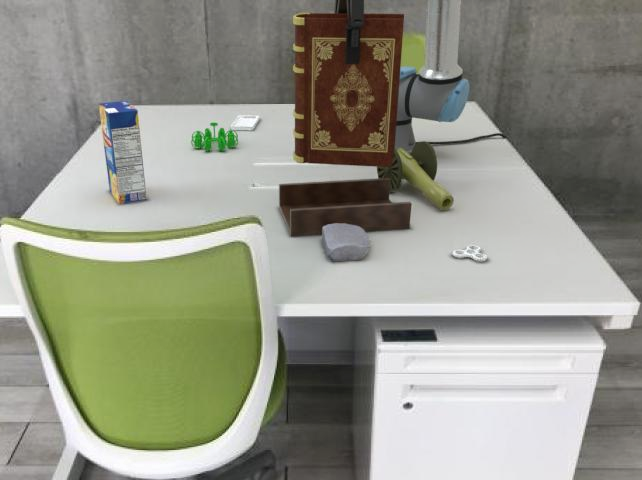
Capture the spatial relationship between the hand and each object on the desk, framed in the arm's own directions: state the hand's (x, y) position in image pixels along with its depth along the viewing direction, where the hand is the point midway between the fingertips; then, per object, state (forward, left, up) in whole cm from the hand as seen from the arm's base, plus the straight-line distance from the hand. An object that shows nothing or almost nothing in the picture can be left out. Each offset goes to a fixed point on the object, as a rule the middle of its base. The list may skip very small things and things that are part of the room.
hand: (346, 59), depth 152 cm
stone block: (+3, +19, -35) cm, 40 cm away
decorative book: (0, 0, -22) cm, 22 cm away
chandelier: (+25, -63, -35) cm, 76 cm away
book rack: (0, +1, -35) cm, 35 cm away
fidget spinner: (-21, +26, -35) cm, 48 cm away
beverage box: (+50, -23, -35) cm, 65 cm away
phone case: (+13, -87, -35) cm, 95 cm away
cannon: (-22, -11, -35) cm, 43 cm away
